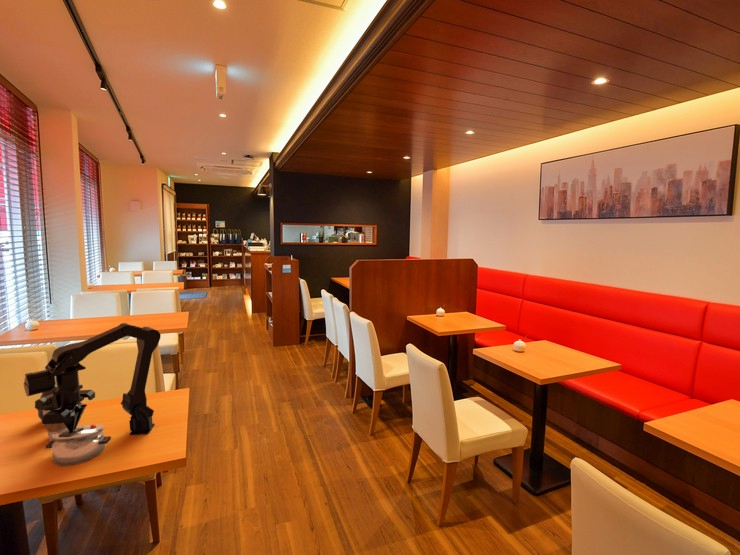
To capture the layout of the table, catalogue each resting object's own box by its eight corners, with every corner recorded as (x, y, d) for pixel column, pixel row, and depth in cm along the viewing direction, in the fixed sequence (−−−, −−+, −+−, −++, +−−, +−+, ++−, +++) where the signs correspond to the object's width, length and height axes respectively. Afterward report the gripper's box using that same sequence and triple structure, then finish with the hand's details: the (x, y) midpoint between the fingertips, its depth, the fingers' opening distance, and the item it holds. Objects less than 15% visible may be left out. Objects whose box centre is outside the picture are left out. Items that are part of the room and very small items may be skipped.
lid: (111, 426, 137) (111, 420, 137) (87, 438, 122) (88, 432, 122) (68, 429, 134) (68, 423, 135) (38, 442, 120) (39, 435, 120)
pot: (119, 438, 138) (118, 426, 137) (99, 463, 124) (97, 449, 123) (62, 443, 135) (61, 430, 134) (35, 468, 121) (33, 454, 120)
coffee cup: (57, 444, 134) (52, 404, 132) (38, 441, 136) (33, 402, 133) (80, 431, 142) (75, 393, 140) (61, 428, 144) (56, 391, 142)
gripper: (58, 375, 131) (62, 417, 133) (18, 399, 113) (24, 448, 115) (94, 373, 133) (97, 415, 135) (60, 397, 115) (65, 445, 117)
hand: (72, 430), depth 126 cm, fingers closed
